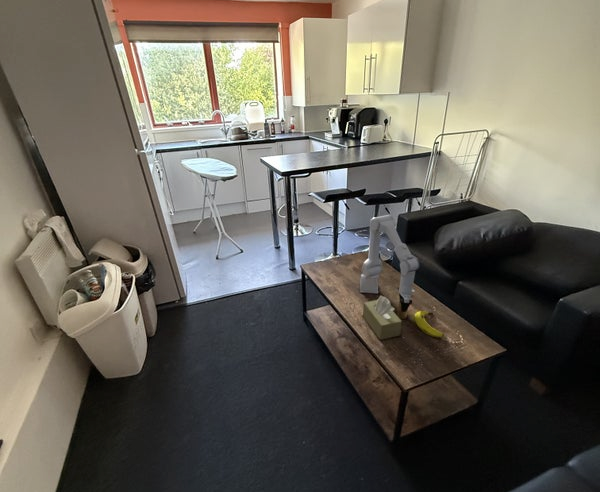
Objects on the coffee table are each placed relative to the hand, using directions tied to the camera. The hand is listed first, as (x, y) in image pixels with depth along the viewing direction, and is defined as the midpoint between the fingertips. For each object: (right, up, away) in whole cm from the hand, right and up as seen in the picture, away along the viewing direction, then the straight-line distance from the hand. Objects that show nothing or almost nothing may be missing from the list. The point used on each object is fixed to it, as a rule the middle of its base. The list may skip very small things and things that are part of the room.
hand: (402, 306), depth 151 cm
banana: (+11, -9, -4) cm, 15 cm away
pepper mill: (0, -5, +3) cm, 5 cm away
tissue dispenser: (-11, -9, -3) cm, 15 cm away
